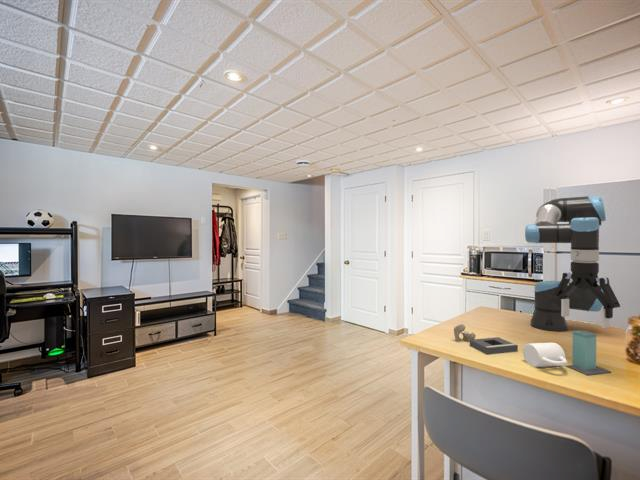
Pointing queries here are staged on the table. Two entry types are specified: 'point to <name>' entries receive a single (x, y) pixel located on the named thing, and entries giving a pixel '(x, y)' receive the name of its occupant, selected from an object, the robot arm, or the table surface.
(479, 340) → the grey socket block
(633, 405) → the table surface
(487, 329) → the table surface
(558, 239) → the robot arm
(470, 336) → the bone
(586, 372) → the mat
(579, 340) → the plug
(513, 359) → the table surface
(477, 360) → the table surface
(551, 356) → the mug
